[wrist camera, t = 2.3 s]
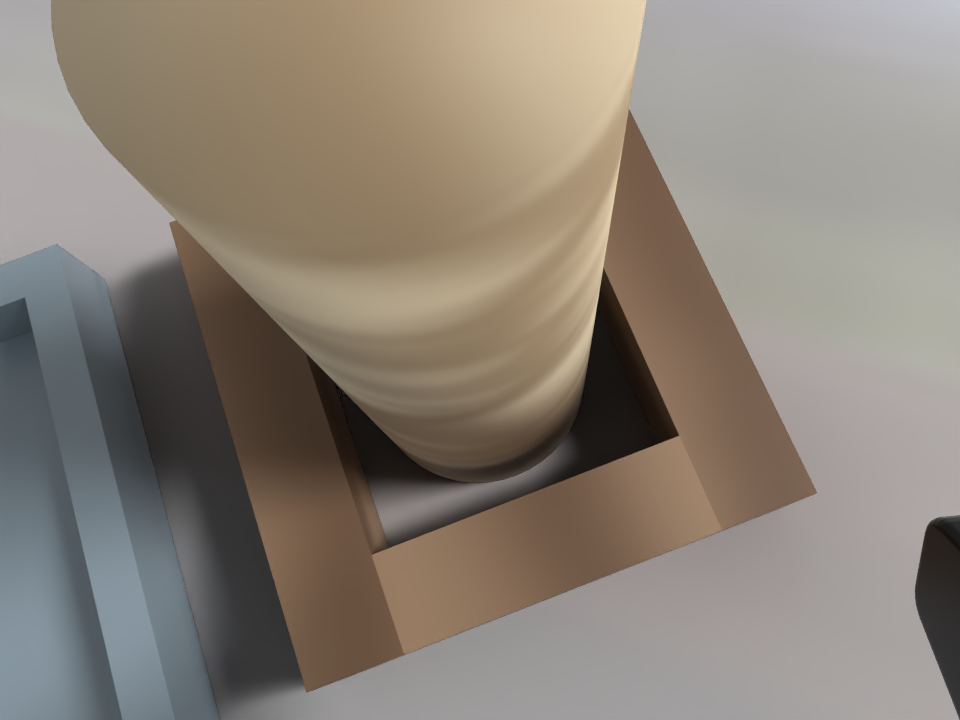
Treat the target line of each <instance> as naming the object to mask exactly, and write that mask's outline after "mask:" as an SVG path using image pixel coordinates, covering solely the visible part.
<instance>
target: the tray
mask: <svg viewBox="0 0 960 720" xmlns="http://www.w3.org/2000/svg"><path fill="white" fill-rule="evenodd" d="M0 720H220V717H219V713H218V710H217V706H216V702H215V698H214V694H213V691H212V687H211V683H210V679H209V675H208V672H207V668H206V664H205V660H204V656H203V652H202V649H201V645H200V641H199V637H198V633H197V630H196V626H195V622H194V618H193V614H192V611H191V607H190V603H189V599H188V595H187V591H186V588H185V584H184V580H183V576H182V572H181V569H180V565H179V561H178V557H177V553H176V549H175V546H174V542H173V538H172V534H171V530H170V527H169V523H168V519H167V515H166V511H165V508H164V504H163V500H162V496H161V492H160V488H159V485H158V481H157V477H156V473H155V469H154V466H153V462H152V458H151V454H150V450H149V447H148V443H147V439H146V435H145V431H144V427H143V424H142V420H141V416H140V412H139V408H138V405H137V401H136V397H135V393H134V389H133V385H132V382H131V378H130V374H129V370H128V366H127V363H126V359H125V355H124V351H123V347H122V344H121V340H120V336H119V332H118V328H117V324H116V321H115V317H114V313H113V309H112V305H111V302H110V298H109V294H108V290H107V286H106V283H105V279H104V278H103V277H102V276H101V275H99V274H98V273H96V272H95V271H94V270H92V269H91V268H89V267H88V266H87V265H85V264H84V263H83V262H81V261H80V260H78V259H77V258H76V257H74V256H73V255H72V254H70V253H69V252H67V251H66V250H65V249H63V248H62V247H61V246H59V245H58V244H56V245H53V246H50V247H48V248H45V249H42V250H40V251H37V252H34V253H32V254H29V255H26V256H24V257H21V258H18V259H16V260H13V261H10V262H8V263H5V264H2V265H0Z"/></svg>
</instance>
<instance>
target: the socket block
mask: <svg viewBox="0 0 960 720" xmlns="http://www.w3.org/2000/svg"><path fill="white" fill-rule="evenodd" d="M169 224H170V227H171V231H172V234H173V238H174V241H175V244H176V248H177V251H178V255H179V258H180V261H181V265H182V268H183V272H184V275H185V279H186V282H187V285H188V289H189V292H190V296H191V299H192V302H193V306H194V309H195V313H196V316H197V320H198V323H199V326H200V330H201V333H202V337H203V340H204V343H205V347H206V350H207V354H208V357H209V361H210V364H211V367H212V371H213V374H214V378H215V381H216V385H217V388H218V391H219V395H220V398H221V402H222V405H223V408H224V412H225V415H226V419H227V422H228V426H229V429H230V432H231V436H232V439H233V443H234V446H235V449H236V453H237V456H238V460H239V463H240V467H241V470H242V473H243V477H244V480H245V484H246V487H247V491H248V494H249V497H250V501H251V504H252V508H253V511H254V514H255V518H256V521H257V525H258V528H259V532H260V535H261V538H262V542H263V545H264V549H265V552H266V555H267V559H268V562H269V566H270V569H271V573H272V576H273V579H274V583H275V586H276V590H277V593H278V596H279V600H280V603H281V607H282V610H283V614H284V617H285V620H286V624H287V627H288V631H289V634H290V638H291V641H292V644H293V648H294V651H295V655H296V658H297V661H298V665H299V668H300V672H301V675H302V679H303V682H304V685H305V689H306V692H309V691H312V690H315V689H317V688H320V687H323V686H325V685H328V684H331V683H333V682H336V681H339V680H341V679H344V678H346V677H349V676H352V675H354V674H357V673H359V672H362V671H364V670H367V669H369V668H372V667H375V666H377V665H380V664H382V663H385V662H387V661H390V660H393V659H395V658H398V657H400V656H403V655H405V654H408V653H410V652H413V651H416V650H418V649H421V648H423V647H426V646H428V645H431V644H433V643H436V642H439V641H441V640H444V639H446V638H449V637H451V636H454V635H457V634H459V633H462V632H464V631H467V630H469V629H472V628H474V627H477V626H480V625H482V624H485V623H487V622H490V621H492V620H495V619H497V618H500V617H503V616H505V615H508V614H510V613H513V612H515V611H518V610H521V609H523V608H526V607H528V606H531V605H533V604H536V603H538V602H541V601H544V600H546V599H549V598H551V597H554V596H556V595H559V594H561V593H564V592H567V591H569V590H572V589H574V588H577V587H579V586H582V585H585V584H587V583H590V582H592V581H595V580H597V579H600V578H602V577H605V576H608V575H610V574H613V573H615V572H618V571H620V570H623V569H625V568H628V567H631V566H633V565H636V564H638V563H641V562H643V561H646V560H648V559H651V558H654V557H656V556H659V555H661V554H664V553H666V552H669V551H672V550H674V549H677V548H679V547H682V546H684V545H687V544H689V543H692V542H695V541H697V540H700V539H702V538H705V537H707V536H710V535H712V534H715V533H718V532H720V531H723V530H725V529H728V528H730V527H733V526H736V525H738V524H741V523H743V522H746V521H748V520H751V519H753V518H756V517H759V516H761V515H764V514H766V513H769V512H771V511H774V510H776V509H779V508H782V507H784V506H787V505H789V504H792V503H794V502H796V501H799V500H801V499H804V498H806V497H809V496H811V495H814V494H816V493H817V492H816V490H815V488H814V486H813V484H812V482H811V479H810V477H809V475H808V473H807V471H806V469H805V467H804V465H803V463H802V461H801V459H800V457H799V455H798V453H797V451H796V449H795V447H794V445H793V443H792V441H791V439H790V437H789V435H788V432H787V430H786V428H785V426H784V424H783V422H782V420H781V418H780V416H779V414H778V412H777V410H776V408H775V406H774V404H773V402H772V400H771V398H770V396H769V394H768V392H767V390H766V388H765V386H764V383H763V381H762V379H761V377H760V375H759V373H758V371H757V369H756V367H755V365H754V363H753V361H752V359H751V357H750V355H749V353H748V351H747V349H746V347H745V345H744V343H743V341H742V339H741V336H740V334H739V332H738V330H737V328H736V326H735V324H734V322H733V320H732V318H731V316H730V314H729V312H728V310H727V308H726V306H725V304H724V302H723V300H722V298H721V296H720V294H719V292H718V289H717V287H716V285H715V283H714V281H713V279H712V277H711V275H710V273H709V271H708V269H707V267H706V265H705V263H704V261H703V259H702V257H701V255H700V253H699V251H698V249H697V247H696V245H695V243H694V240H693V238H692V236H691V234H690V232H689V230H688V228H687V226H686V224H685V222H684V220H683V218H682V216H681V214H680V212H679V210H678V208H677V206H676V204H675V202H674V200H673V198H672V196H671V193H670V191H669V189H668V187H667V185H666V183H665V181H664V179H663V177H662V175H661V173H660V171H659V169H658V167H657V165H656V163H655V161H654V159H653V157H652V155H651V153H650V151H649V149H648V146H647V144H646V142H645V140H644V138H643V136H642V134H641V132H640V130H639V128H638V126H637V124H636V122H635V120H634V118H633V116H632V114H631V112H630V110H629V111H628V117H627V123H626V130H625V136H624V142H623V148H622V154H621V161H620V167H619V173H618V179H617V185H616V192H615V198H614V204H613V210H612V216H611V223H610V229H609V235H608V241H607V247H606V254H605V260H604V266H603V272H602V278H601V285H600V291H599V297H598V303H597V306H598V309H599V311H600V313H601V315H602V318H603V320H604V322H605V324H606V327H607V329H608V331H609V334H610V336H611V338H612V340H613V343H614V345H615V347H616V349H617V352H618V354H619V356H620V358H621V361H622V363H623V365H624V367H625V370H626V372H627V374H628V376H629V379H630V381H631V383H632V386H633V388H634V390H635V392H636V395H637V397H638V399H639V401H640V404H641V406H642V408H643V410H644V413H645V415H646V417H647V419H648V422H649V424H650V426H651V429H652V431H653V433H654V435H655V438H656V440H657V442H658V444H657V445H654V446H652V447H649V448H646V449H644V450H641V451H639V452H636V453H633V454H631V455H628V456H626V457H623V458H621V459H618V460H615V461H613V462H610V463H608V464H605V465H602V466H600V467H597V468H595V469H592V470H590V471H587V472H584V473H582V474H579V475H577V476H574V477H571V478H569V479H566V480H564V481H561V482H559V483H556V484H553V485H551V486H548V487H546V488H543V489H540V490H538V491H535V492H533V493H530V494H528V495H525V496H522V497H520V498H517V499H515V500H512V501H509V502H507V503H504V504H502V505H499V506H497V507H494V508H491V509H489V510H486V511H484V512H481V513H478V514H476V515H473V516H471V517H468V518H466V519H463V520H460V521H458V522H455V523H453V524H450V525H447V526H445V527H442V528H440V529H437V530H435V531H432V532H429V533H427V534H424V535H422V536H419V537H416V538H414V539H411V540H409V541H406V542H404V543H401V544H398V545H396V546H393V547H391V548H389V546H388V543H387V540H386V537H385V534H384V531H383V528H382V525H381V522H380V519H379V516H378V513H377V510H376V507H375V504H374V501H373V498H372V495H371V492H370V489H369V486H368V483H367V480H366V477H365V474H364V471H363V468H362V465H361V462H360V459H359V456H358V453H357V450H356V447H355V444H354V441H353V438H352V435H351V433H350V430H349V427H348V424H347V421H346V418H345V415H344V412H343V409H342V406H341V403H340V400H339V397H338V394H337V391H336V388H335V385H334V382H333V380H332V379H331V378H330V377H329V376H328V375H327V374H326V373H325V372H324V371H323V370H322V369H321V368H320V367H319V365H318V364H317V363H316V362H315V361H314V360H313V359H312V358H311V357H310V356H309V355H308V354H307V353H306V352H305V351H304V350H303V349H302V348H301V347H300V346H299V345H298V344H297V343H296V342H295V341H294V340H293V339H292V338H291V337H290V336H289V335H288V334H287V333H286V332H285V331H284V330H283V329H282V328H281V327H280V326H279V325H278V324H277V323H276V322H275V321H274V320H273V319H272V317H271V316H270V315H269V314H268V313H267V312H266V311H265V310H264V309H263V308H262V307H261V306H260V305H259V304H258V303H257V302H256V301H255V300H254V299H253V298H252V297H251V296H250V295H249V294H248V293H247V292H246V291H245V290H244V289H243V288H242V287H241V286H240V285H239V284H238V283H237V282H236V281H235V280H234V279H233V278H232V277H231V276H230V275H229V274H228V273H227V272H226V271H225V270H224V268H223V267H222V266H221V265H220V264H219V263H218V262H217V261H216V260H215V259H214V258H213V257H212V256H211V255H210V254H209V253H208V252H207V251H206V250H205V249H204V248H203V247H202V246H201V245H200V244H199V243H198V242H197V241H196V240H195V239H194V238H193V237H192V236H191V235H190V234H189V233H188V232H187V231H186V230H185V229H184V228H183V227H182V226H181V225H180V224H179V223H178V222H177V221H173V222H171V223H169Z"/></svg>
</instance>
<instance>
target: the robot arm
mask: <svg viewBox="0 0 960 720" xmlns="http://www.w3.org/2000/svg"><path fill="white" fill-rule="evenodd" d="M915 600H916V606H917V610H918V614H919V617H920V620H921V622H922V625H923V627H924V630H925V632H926V635H927V638H928V640H929V643H930V645H931V648H932V650H933V653H934V655H935V658H936V661H937V663H938V666H939V668H940V671H941V673H942V676H943V678H944V681H945V683H946V686H947V689H948V691H949V694H950V696H951V699H952V701H953V704H954V706H955V709H956V712H957V714H958V717H959V719H960V515H959V516H947V517H938V518H936V519H934V520H932V521H931V522H930V523H929V525H928V526H927V528H926V532H925V536H924V541H923V547H922V552H921V558H920V563H919V568H918V574H917V579H916V585H915Z"/></svg>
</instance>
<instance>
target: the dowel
mask: <svg viewBox="0 0 960 720" xmlns="http://www.w3.org/2000/svg"><path fill="white" fill-rule="evenodd" d="M645 6H646V0H51V20H52V32H53V38H54V43H55V49H56V54H57V60H58V63H59V66H60V68H61V71H62V74H63V77H64V80H65V83H66V85H67V88H68V91H69V93H70V95H71V97H72V99H73V100H74V102H75V104H76V106H77V108H78V110H79V111H80V113H81V115H82V117H83V119H84V120H85V122H86V123H87V125H88V126H89V127H90V128H91V130H92V131H93V132H94V134H95V135H96V136H97V138H98V139H99V140H100V141H101V143H102V144H103V145H104V147H105V148H106V149H107V150H108V151H109V152H110V153H111V154H112V155H113V156H114V157H115V158H116V159H117V160H118V161H119V162H120V163H121V164H122V165H123V166H124V167H125V168H126V169H127V170H128V172H129V173H130V174H131V175H132V176H133V177H134V178H135V179H136V180H137V181H138V182H139V183H140V184H141V185H142V186H143V187H144V188H145V189H146V190H147V191H148V192H149V193H150V194H151V195H152V196H153V197H154V198H155V199H156V200H157V201H158V202H159V203H160V204H161V205H162V206H163V207H164V208H165V209H166V210H167V211H168V212H169V213H170V214H171V215H172V216H173V217H174V218H175V219H176V221H177V222H178V223H179V224H180V225H181V226H182V227H183V228H184V229H185V230H186V231H187V232H188V233H189V234H190V235H191V236H192V237H193V238H194V239H195V240H196V241H197V242H198V243H199V244H200V245H201V246H202V247H203V248H204V249H205V250H206V251H207V252H208V253H209V254H210V255H211V256H212V257H213V258H214V259H215V260H216V261H217V262H218V263H219V264H220V265H221V266H222V267H223V268H224V270H225V271H226V272H227V273H228V274H229V275H230V276H231V277H232V278H233V279H234V280H235V281H236V282H237V283H238V284H239V285H240V286H241V287H242V288H243V289H244V290H245V291H246V292H247V293H248V294H249V295H250V296H251V297H252V298H253V299H254V300H255V301H256V302H257V303H258V304H259V305H260V306H261V307H262V308H263V309H264V310H265V311H266V312H267V313H268V314H269V315H270V316H271V317H272V319H273V320H274V321H275V322H276V323H277V324H278V325H279V326H280V327H281V328H282V329H283V330H284V331H285V332H286V333H287V334H288V335H289V336H290V337H291V338H292V339H293V340H294V341H295V342H296V343H297V344H298V345H299V346H300V347H301V348H302V349H303V350H304V351H305V352H306V353H307V354H308V355H309V356H310V357H311V358H312V359H313V360H314V361H315V362H316V363H317V364H318V365H319V367H320V368H321V369H322V370H323V371H324V372H325V373H326V374H327V375H328V376H329V377H330V378H331V379H332V380H333V381H334V382H335V383H336V384H337V385H338V386H339V387H340V388H341V389H342V390H343V391H344V392H345V393H346V394H347V395H348V396H349V397H350V398H351V399H352V400H353V401H354V402H355V403H356V404H357V405H358V406H359V407H360V408H361V409H362V410H363V411H364V412H365V413H366V414H367V416H368V417H369V418H370V419H371V420H372V421H373V422H374V423H375V424H376V425H377V426H378V427H379V428H380V429H381V430H382V431H383V432H384V433H385V434H386V435H387V436H388V437H389V438H390V439H391V440H392V441H393V442H394V443H395V444H396V445H397V446H398V447H399V448H400V449H401V450H402V451H403V452H404V453H405V454H406V455H407V456H408V457H409V458H410V459H411V460H413V461H414V462H416V463H417V464H418V465H420V466H421V467H423V468H425V469H427V470H428V471H430V472H432V473H434V474H437V475H439V476H442V477H445V478H448V479H452V480H457V481H461V482H472V483H480V482H493V481H498V480H503V479H507V478H510V477H513V476H516V475H518V474H521V473H523V472H525V471H527V470H529V469H531V468H532V467H534V466H536V465H537V464H539V463H540V462H542V461H543V460H544V459H545V458H546V457H548V456H549V455H550V454H551V453H552V452H553V451H554V450H555V449H556V448H557V447H558V446H559V445H560V444H561V443H562V441H563V440H564V438H565V437H566V435H567V434H568V432H569V431H570V429H571V427H572V425H573V423H574V421H575V419H576V417H577V414H578V411H579V408H580V405H581V400H582V395H583V390H584V384H585V378H586V371H587V365H588V359H589V353H590V347H591V340H592V334H593V328H594V322H595V316H596V309H597V303H598V297H599V291H600V285H601V278H602V272H603V266H604V260H605V254H606V247H607V241H608V235H609V229H610V223H611V216H612V210H613V204H614V198H615V192H616V185H617V179H618V173H619V167H620V161H621V154H622V148H623V142H624V136H625V130H626V123H627V117H628V111H629V105H630V99H631V92H632V86H633V80H634V74H635V68H636V61H637V55H638V49H639V43H640V37H641V30H642V24H643V18H644V12H645Z"/></svg>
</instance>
